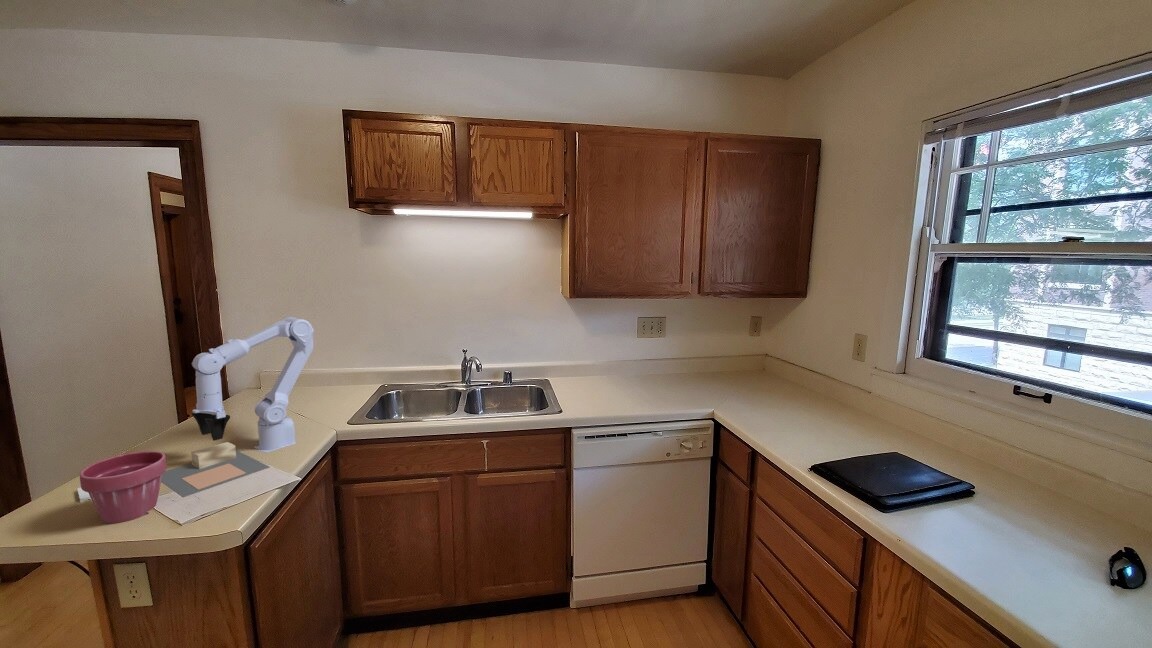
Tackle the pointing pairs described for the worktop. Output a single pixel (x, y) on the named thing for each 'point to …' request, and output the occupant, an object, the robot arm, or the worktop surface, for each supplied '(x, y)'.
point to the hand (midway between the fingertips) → (212, 436)
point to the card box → (213, 455)
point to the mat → (209, 474)
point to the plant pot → (124, 484)
